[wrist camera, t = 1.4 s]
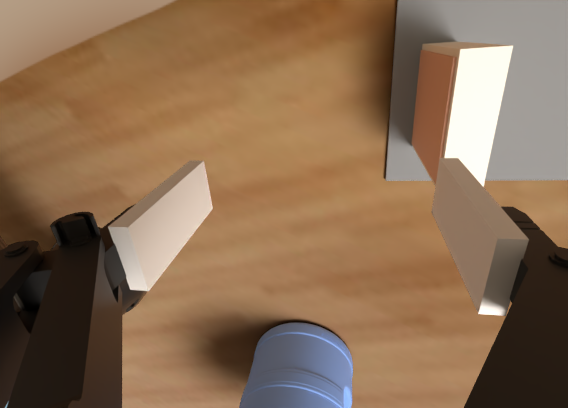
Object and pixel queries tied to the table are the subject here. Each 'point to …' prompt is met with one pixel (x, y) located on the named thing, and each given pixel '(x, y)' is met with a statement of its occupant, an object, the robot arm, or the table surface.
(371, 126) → the table surface
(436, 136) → the wooden plaque
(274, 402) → the water jug
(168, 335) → the table surface
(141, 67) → the table surface
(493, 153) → the rubber mat
